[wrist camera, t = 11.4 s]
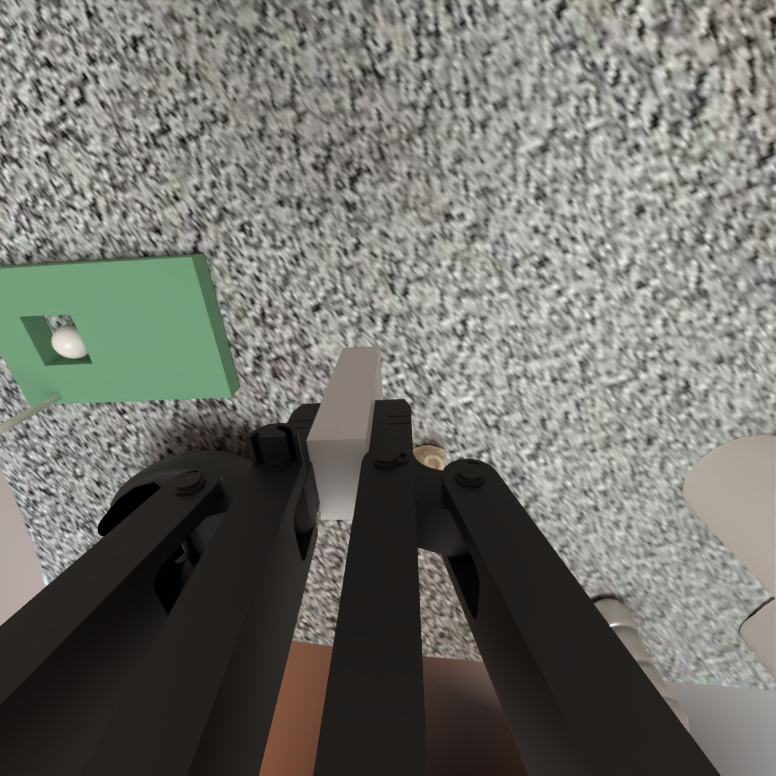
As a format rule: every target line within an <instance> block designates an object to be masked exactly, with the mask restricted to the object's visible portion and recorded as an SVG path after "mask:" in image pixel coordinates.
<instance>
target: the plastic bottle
mask: <svg viewBox="0 0 776 776" xmlns="http://www.w3.org/2000/svg"><path fill="white" fill-rule="evenodd" d="M594 604H595V606H596V607H597V608H598V610H599V611H600V613H601V614H602V615H603V617H604V618H605V619H606V621H607V622H608V623H609V625H610V626H611V627H612V629H613V630H614V632H615V633H616V634H617V636H618V637H619V638H620V640H621V641H622V642H623V644H624V645H625V647H626V648H627V649H628V651H629V652H630V653H631V655H632V656H633V657H634V659H635V660H636V661H637V663H638V664H639V666H640V667H641V668H642V670H643V671H644V672H645V674H646V675H647V676H648V678H649V679H650V680H651V682H652V683H653V685H654V686H655V687H656V689H657V690H658V691H659V693H660V694H661V695H662V697H663V698H664V700H665V701H666V702H667V704H668V705H669V706H670V708H671V709H672V710H673V712H674V713H675V714H676V716H677V717H678V719H679V720H680V721H681V723H682V724H683V725H684V727H685V728H686V729H687V731H688V732H689V723H688V720H687V716H686V713H685V712H684V710H683V708H682V707H681V705H680V704H679V703H678V701H677V699H676V698H675V696H674V695H673V693H672V692H671V691H670V689H669V688H668V686H667V685H666V683H665V682H664V680H663V679H662V677H661V675H660V674H659V672H658V670H657V669H656V667H655V666H654V664H653V662H652V660H651V659H650V657H649V655H648V653H647V651H646V648H645V646H644V644H643V642H642V640H641V637H640V635H639V633H638V629H637V626H636V624H635V621H634V619H633V616H632V614H631V613H630V612H629V610H628V609H627V608H626V606H625V605H624V604H622V603H621V602H619V601H618V600H615V599H611V598H605V599H600V600H597V601H595V602H594Z"/></svg>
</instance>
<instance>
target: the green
mask: <svg viewBox="0 0 776 776" xmlns="http://www.w3.org/2000/svg"><path fill="white" fill-rule="evenodd" d="M62 314H70V315H71V317H72V319H73V321H74V324H75V326H76V328H77V330H78V332H79V334H80V337H81V339H82V341H83V343H84V345H85V348H86V350H87V352H88V354H89V356H84V357H81V358H67V357H63V356H62V355H60V354H59V353H57V352H56V351H55V350H54V348H53V346H52V342H51V339H52V336H53V335H52V333H51V331H50V329H49V327H48V325H47V323H46V320H45V318H44V316H43V315H62ZM0 354H1V355H2V357H3V359H4V361H5V362H6V364H7V366H8V368H9V369H10V371H11V373H12V375H13V376H14V378H15V380H16V382H17V383H18V385H19V387H20V389H21V390H22V392H23V394H24V396H25V397H26V399H27V401H28V403H29V404H30V405H34V406H32V407H30V408H29V409H27V410H25V411H23V412H21V413H20V414H18V415H16V416H14V417H12V418H11V419H9V420H7V421H5V422H3V423H2V424H0V434H2V433H4V432H6V431H7V430H9V429H11V428H12V427H14V426H16V425H17V424H19V423H21V422H23V421H24V420H26V419H28V418H29V417H31V416H33V415H35V414H36V413H38V412H40V411H41V410H43V409H45V408H47V407H48V406H50V405H52V404H68V403H94V402H120V401H145V400H171V399H197V398H223V397H232V396H233V395H234V394H235V393H236V391H237V390H238V389H239V388H240V384H239V381H238V377H237V373H236V370H235V366H234V362H233V359H232V355H231V351H230V347H229V344H228V340H227V336H226V333H225V329H224V325H223V321H222V318H221V314H220V310H219V307H218V303H217V299H216V295H215V292H214V288H213V284H212V281H211V277H210V273H209V269H208V266H207V262H206V258H205V255H204V254H188V255H171V256H155V257H139V258H122V259H106V260H89V261H73V262H57V263H40V264H24V265H7V266H0Z"/></svg>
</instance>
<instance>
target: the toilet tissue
mask: <svg viewBox="0 0 776 776" xmlns="http://www.w3.org/2000/svg"><path fill="white" fill-rule="evenodd" d="M740 635H741V637H742V638H743V640H744V641H745V642H746V644H747V645H748V646H749V647H750V649H751V650H752V652H753V653H754V654H755V655H756V656H757V658H758V659H759V660H760V662H761V663H762V664H763V665H764V667H765V668H766V669H767V670H768V672H769V673H770V674H771V676H772V677H773V678H774V679H775V681H776V599H774V600H773V601H771V602H770V603H768V604H767V605H764V607H763V608H762V609H760V610H759V611H758V612H757V613H756V614H755V615H753V616H751V617H750V618H748V619H747V620H746V621H745V622H744V623H743V625H742V626H741V628H740Z"/></svg>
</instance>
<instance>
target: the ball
mask: <svg viewBox="0 0 776 776" xmlns="http://www.w3.org/2000/svg"><path fill="white" fill-rule="evenodd" d="M51 342H52V346H53V348H54V350H55V351H56V352H57V353H59V354H60V355H62V356H64V357H67V358H81V357H84V356H86V355H88V352H87V350H86V348H85V345H84V343H83V341H82V339H81V337H80V334H79V332H78V330H77V328H76V326H65V327H62V328H60V329H58V330H56V331H55V332H54V334H53V336H52V339H51Z"/></svg>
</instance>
